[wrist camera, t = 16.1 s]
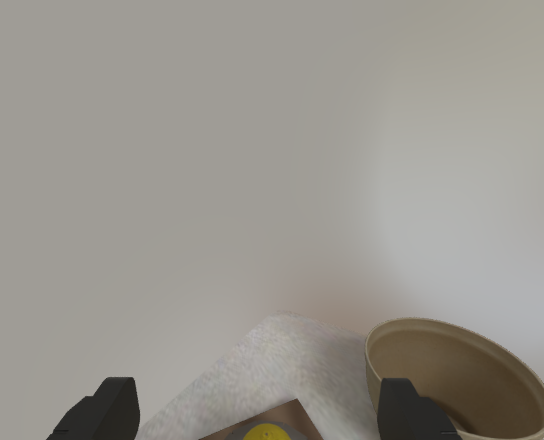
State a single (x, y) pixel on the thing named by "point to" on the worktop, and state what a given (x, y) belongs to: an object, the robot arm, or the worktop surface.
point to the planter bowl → (459, 377)
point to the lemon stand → (284, 416)
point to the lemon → (267, 433)
